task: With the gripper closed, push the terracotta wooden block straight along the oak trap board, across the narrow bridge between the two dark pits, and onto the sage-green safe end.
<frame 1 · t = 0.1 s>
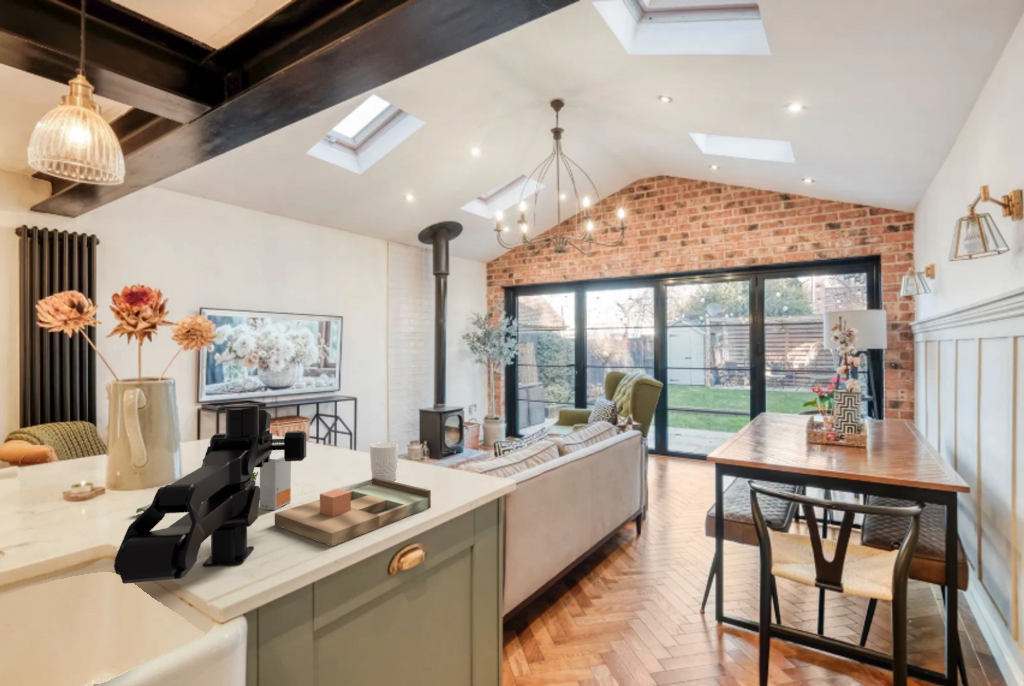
hand: (271, 440, 114), 17 cm above the worktop, tool horizontal, fingers open, 9 cm apart
block: (335, 511, 106), point 2 cm above the worktop, touching trap board
leek: (205, 499, 125), on the worktop
white cup: (384, 480, 140), on the worktop
skincare box: (275, 506, 118), on the worktop
trap board: (358, 514, 111), on the worktop
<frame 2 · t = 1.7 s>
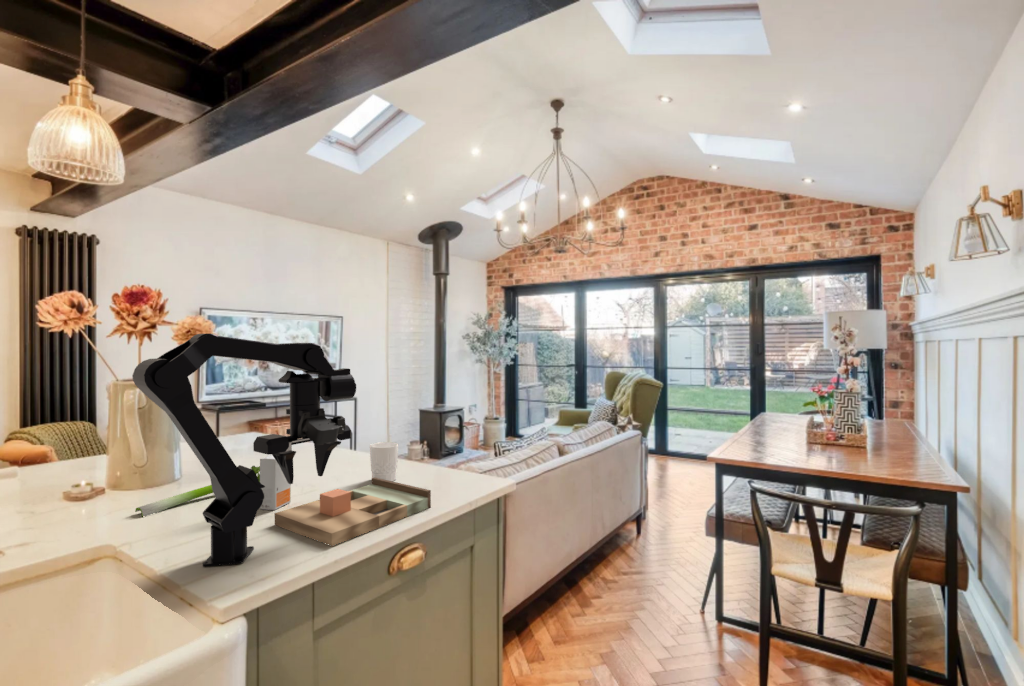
hand: (305, 479, 100), 11 cm above the worktop, tool pointing down, fingers open, 6 cm apart
leek: (209, 500, 124), on the worktop
everything else where it was.
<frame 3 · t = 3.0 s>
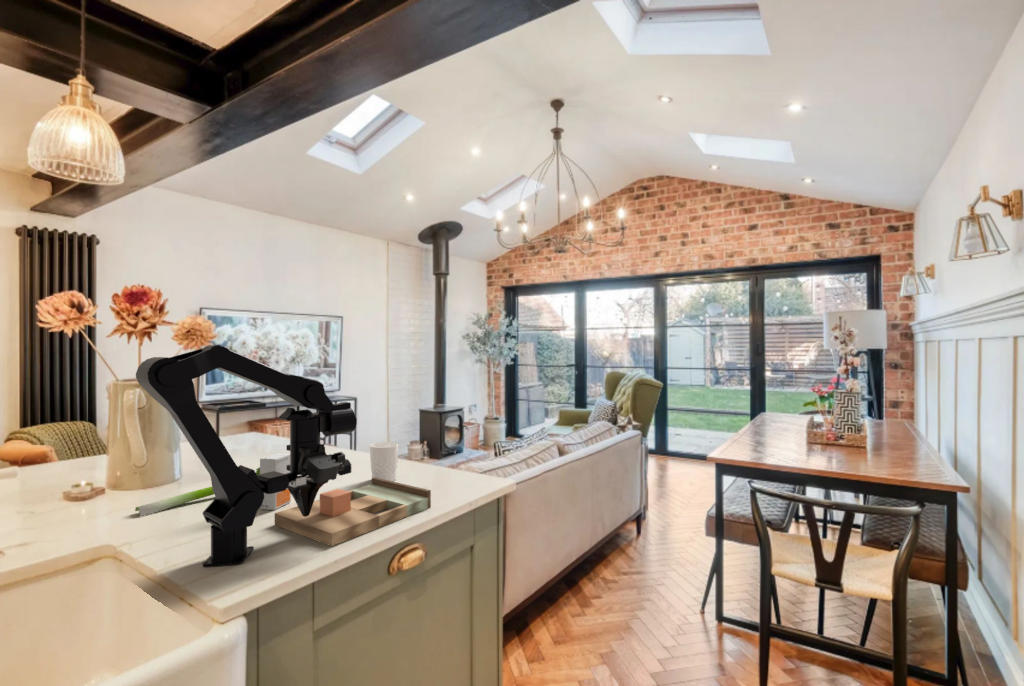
hand: (305, 515, 100), 4 cm above the worktop, tool pointing down, fingers closed
leek: (211, 502, 123), on the worktop
everything else where it was.
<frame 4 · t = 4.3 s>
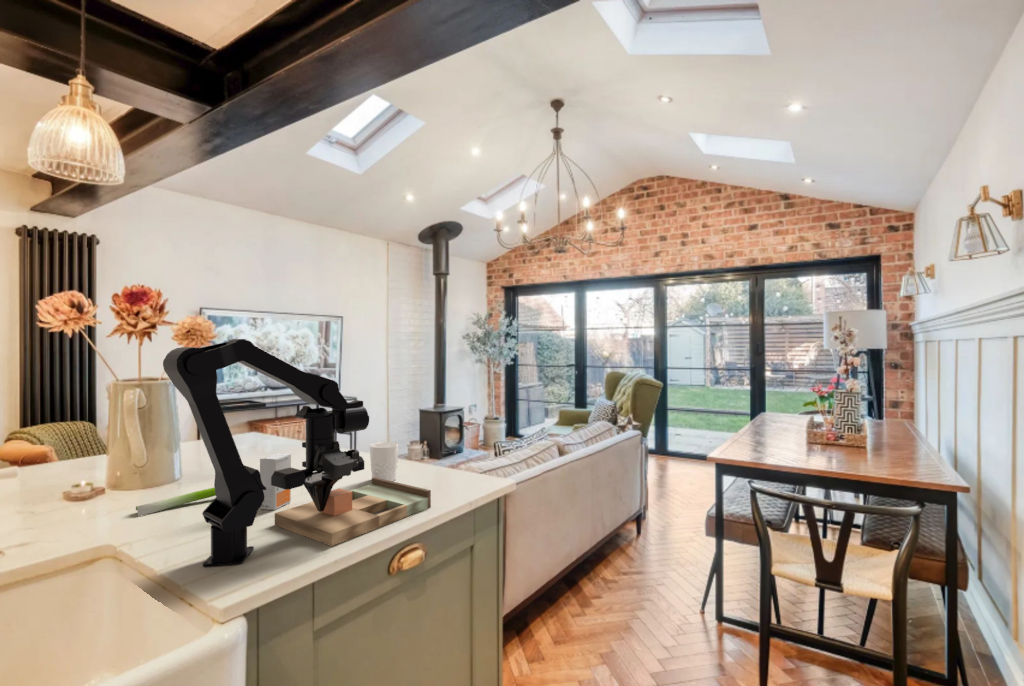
hand: (320, 511, 103), 4 cm above the worktop, tool pointing down, fingers closed
block: (336, 510, 107), point 2 cm above the worktop, touching gripper, trap board
leek: (212, 503, 122), on the worktop
everything else where it was.
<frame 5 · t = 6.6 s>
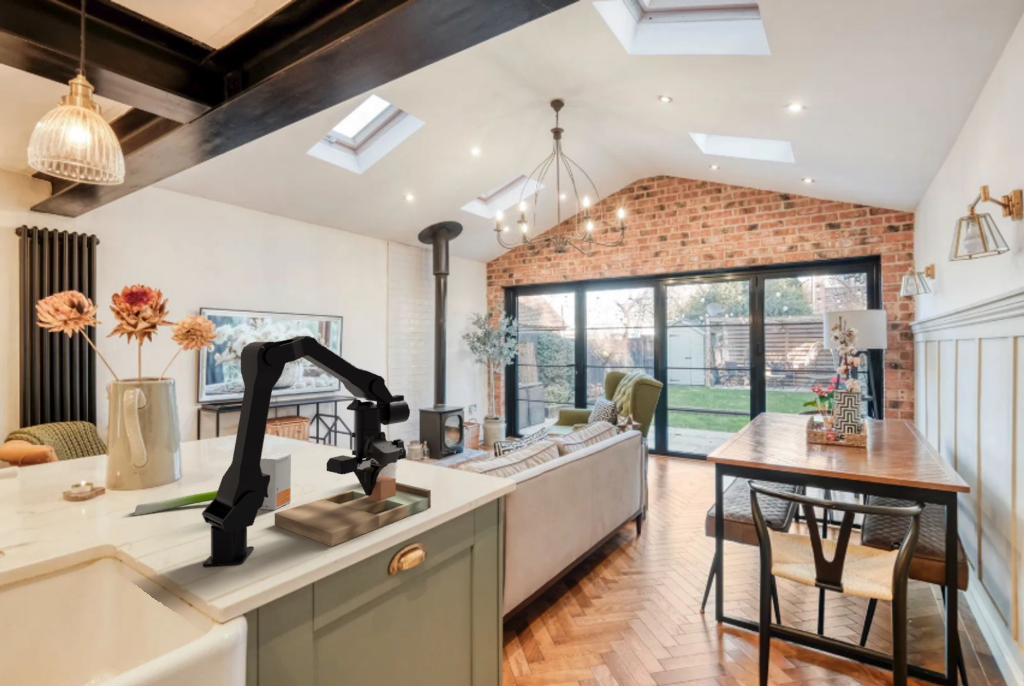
hand: (368, 495, 114), 4 cm above the worktop, tool pointing down, fingers closed
block: (381, 495, 117), point 3 cm above the worktop, touching gripper
leek: (211, 507, 119), on the worktop
everything else where it was.
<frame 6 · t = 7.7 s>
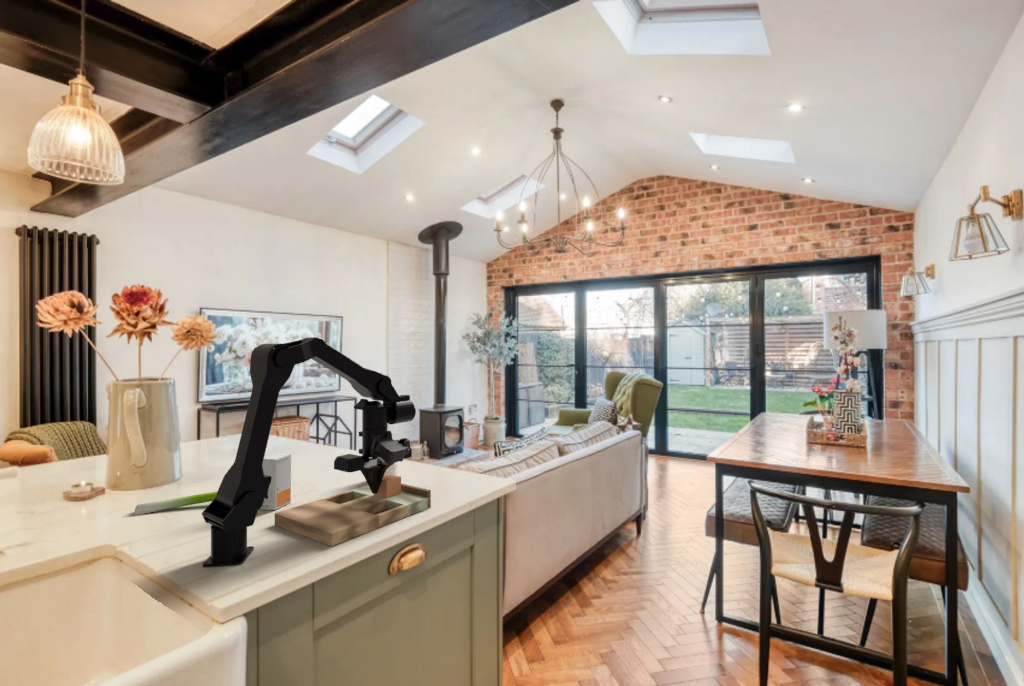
hand: (374, 493, 115), 4 cm above the worktop, tool pointing down, fingers closed
block: (387, 493, 118), point 2 cm above the worktop, touching gripper, trap board
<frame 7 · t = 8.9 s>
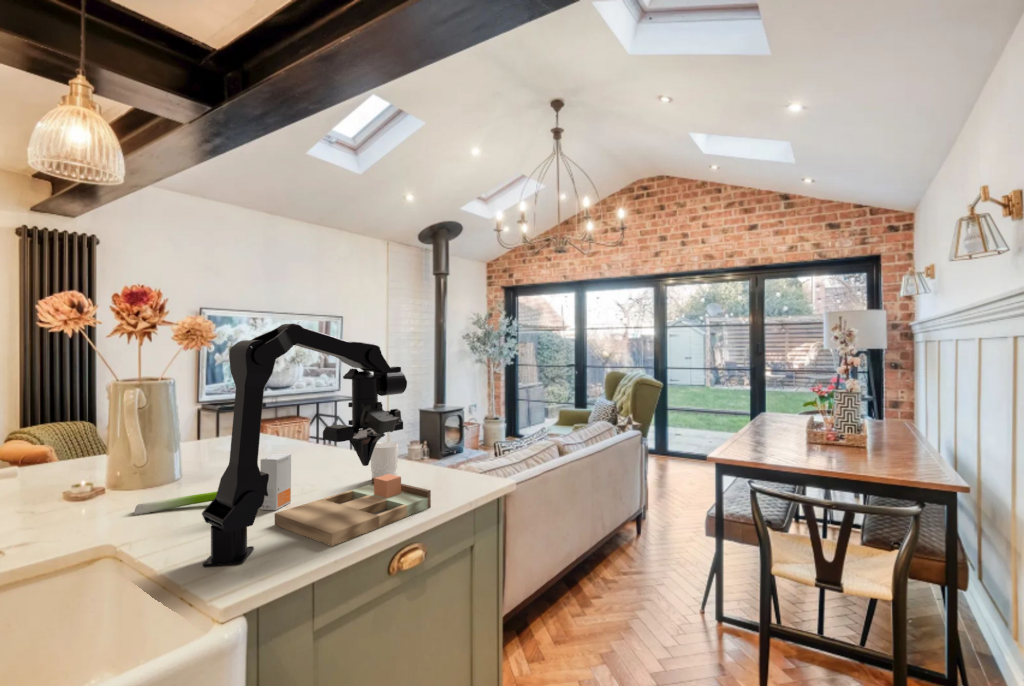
hand: (365, 465, 113), 11 cm above the worktop, tool pointing down, fingers closed
block: (387, 493, 118), point 2 cm above the worktop, touching trap board
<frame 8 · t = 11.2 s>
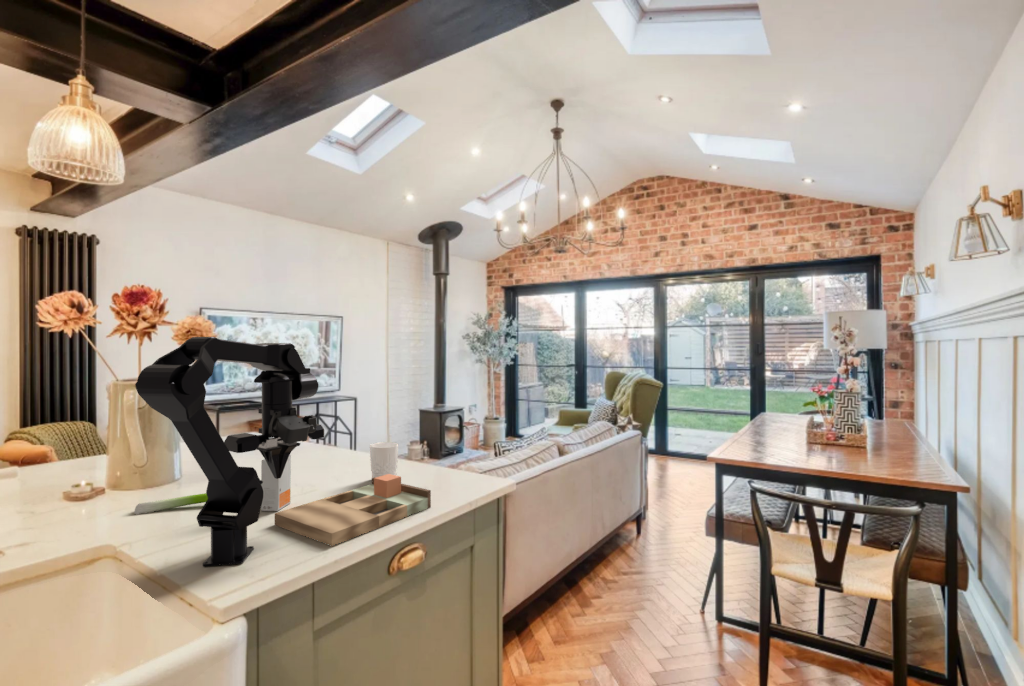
hand: (277, 478, 102), 11 cm above the worktop, tool pointing down, fingers closed
at the end: block 0.6 cm from the target spot, point 2.5 cm above the worktop; block tilted 0° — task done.
